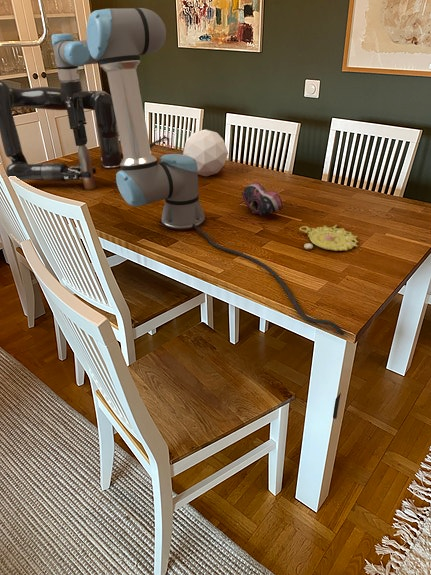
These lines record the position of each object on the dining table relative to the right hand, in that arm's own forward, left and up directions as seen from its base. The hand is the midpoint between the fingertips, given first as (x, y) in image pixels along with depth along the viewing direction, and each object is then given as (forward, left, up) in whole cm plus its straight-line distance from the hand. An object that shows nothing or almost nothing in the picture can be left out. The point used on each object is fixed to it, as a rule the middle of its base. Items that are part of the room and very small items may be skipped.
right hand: (81, 143), depth 179 cm
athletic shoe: (-40, -64, -19) cm, 78 cm away
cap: (0, 0, +2) cm, 2 cm away
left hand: (-1, -3, -12) cm, 12 cm away
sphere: (+6, -51, -19) cm, 55 cm away
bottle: (0, 0, -19) cm, 19 cm away
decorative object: (-68, -81, -19) cm, 107 cm away
